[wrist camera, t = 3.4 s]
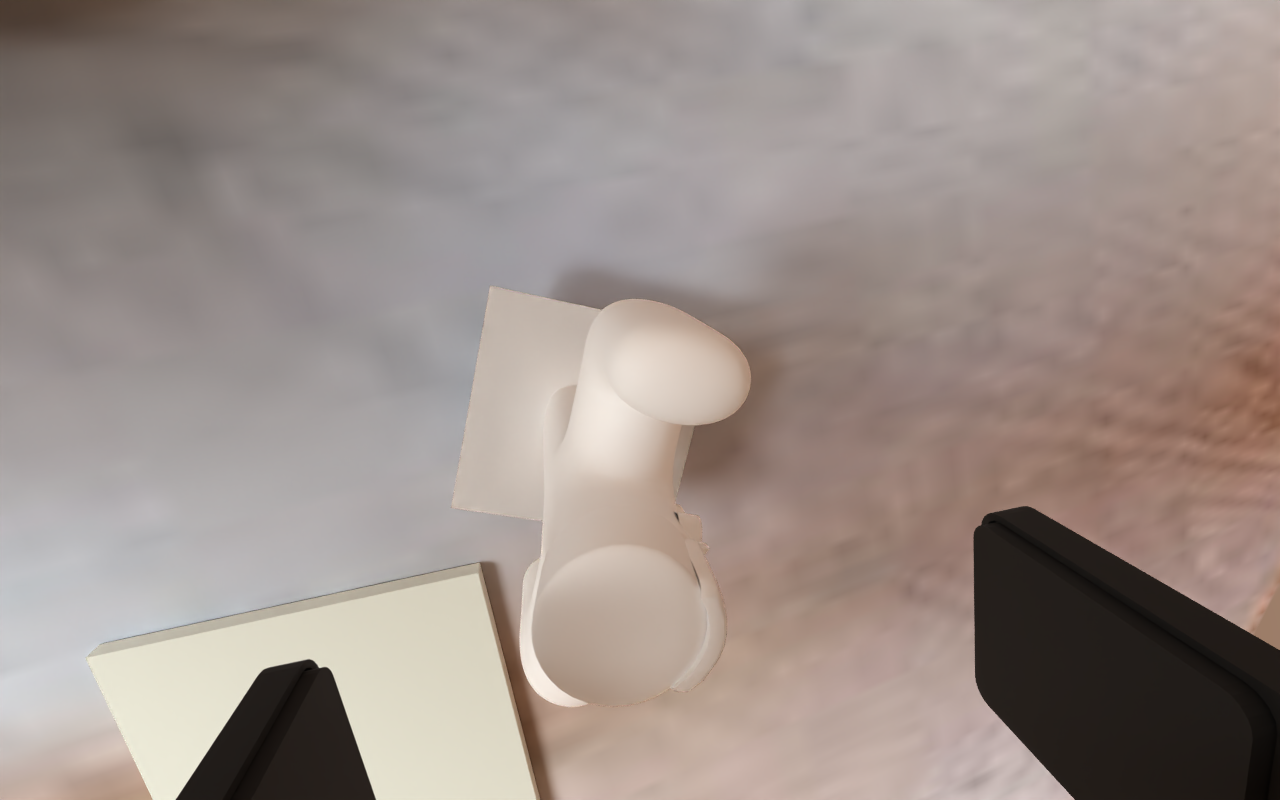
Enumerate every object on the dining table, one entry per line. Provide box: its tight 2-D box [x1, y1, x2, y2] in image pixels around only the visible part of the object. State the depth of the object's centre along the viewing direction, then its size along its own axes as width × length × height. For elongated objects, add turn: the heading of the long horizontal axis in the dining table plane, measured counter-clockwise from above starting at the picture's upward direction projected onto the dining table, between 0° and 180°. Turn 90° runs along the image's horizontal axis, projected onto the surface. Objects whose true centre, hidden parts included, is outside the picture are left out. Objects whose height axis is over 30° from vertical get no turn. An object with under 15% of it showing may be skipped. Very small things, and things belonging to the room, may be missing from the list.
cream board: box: [86, 562, 540, 800], centre depth 26 cm, size 14×14×1 cm
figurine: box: [451, 286, 751, 707], centre depth 17 cm, size 7×9×15 cm
